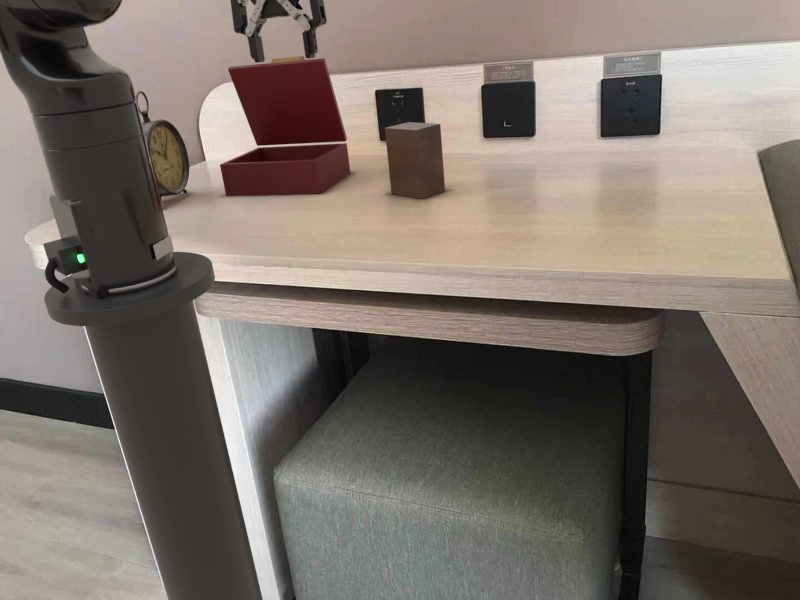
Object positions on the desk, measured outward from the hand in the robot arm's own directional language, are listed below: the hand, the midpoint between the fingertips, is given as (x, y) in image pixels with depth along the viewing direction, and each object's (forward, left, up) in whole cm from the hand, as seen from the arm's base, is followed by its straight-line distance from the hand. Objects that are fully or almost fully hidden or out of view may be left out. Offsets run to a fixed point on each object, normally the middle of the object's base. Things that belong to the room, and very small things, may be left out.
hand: (285, 60), depth 104 cm
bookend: (0, -26, -18) cm, 32 cm away
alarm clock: (-21, +7, -18) cm, 28 cm away
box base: (-5, -3, -18) cm, 19 cm away
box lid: (-2, -1, -7) cm, 7 cm away
